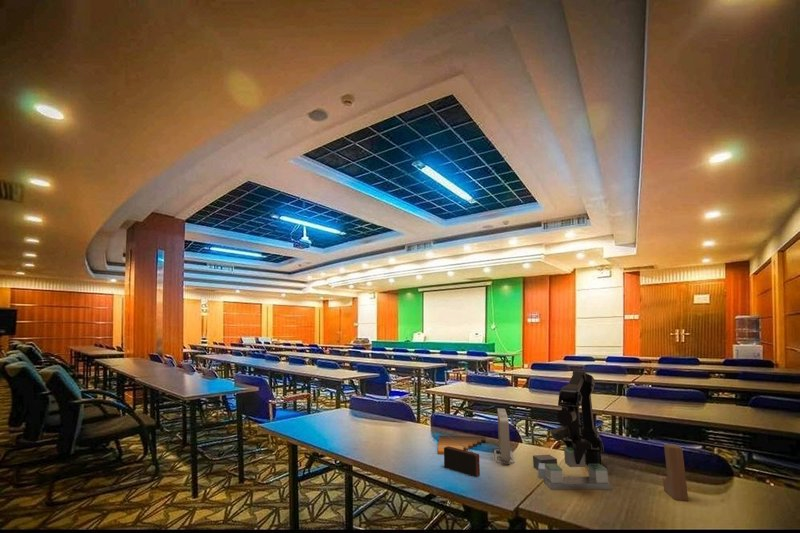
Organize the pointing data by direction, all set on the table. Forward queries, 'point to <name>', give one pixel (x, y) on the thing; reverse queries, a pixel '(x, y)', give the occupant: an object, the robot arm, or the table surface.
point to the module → (572, 458)
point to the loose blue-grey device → (541, 470)
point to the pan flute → (463, 440)
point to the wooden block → (675, 473)
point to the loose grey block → (543, 460)
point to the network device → (503, 439)
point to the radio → (461, 460)
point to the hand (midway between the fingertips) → (575, 461)
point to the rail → (577, 478)
